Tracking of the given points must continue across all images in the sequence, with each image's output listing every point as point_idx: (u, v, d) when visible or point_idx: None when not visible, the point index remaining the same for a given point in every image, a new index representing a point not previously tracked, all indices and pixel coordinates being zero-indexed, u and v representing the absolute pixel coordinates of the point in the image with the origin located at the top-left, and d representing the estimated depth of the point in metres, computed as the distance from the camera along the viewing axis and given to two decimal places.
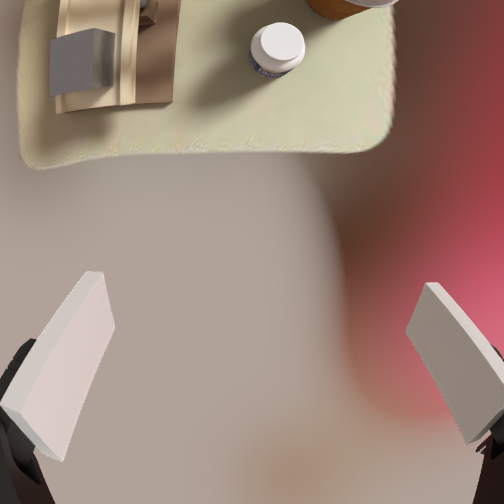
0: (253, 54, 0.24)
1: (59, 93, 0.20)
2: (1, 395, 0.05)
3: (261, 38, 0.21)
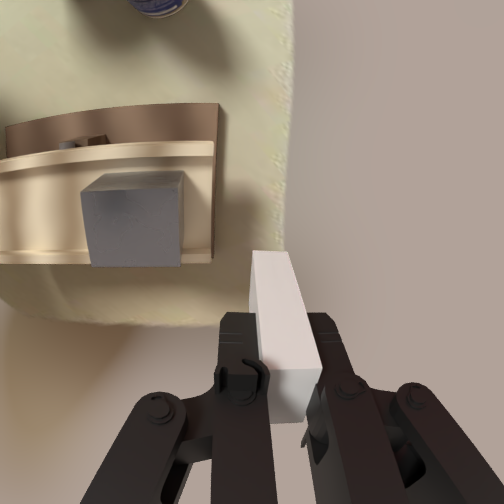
0: None
1: (177, 248, 0.18)
2: None
3: None
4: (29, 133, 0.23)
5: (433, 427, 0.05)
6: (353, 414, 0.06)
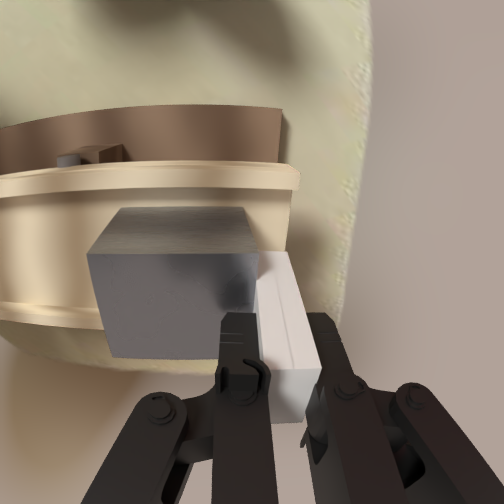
0: None
1: None
2: None
3: None
4: (19, 140, 0.17)
5: (432, 427, 0.05)
6: (352, 414, 0.06)
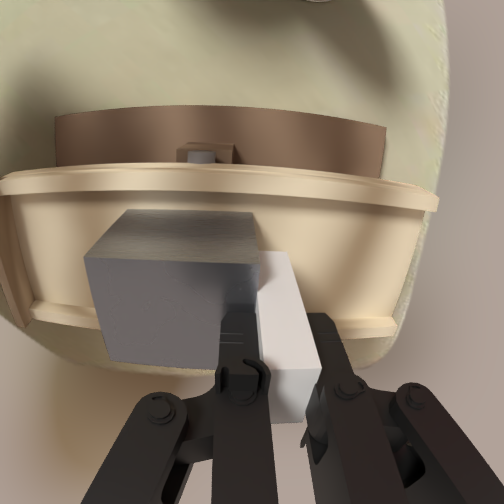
0: None
1: None
2: None
3: None
4: (98, 129, 0.18)
5: (432, 427, 0.05)
6: (352, 414, 0.06)
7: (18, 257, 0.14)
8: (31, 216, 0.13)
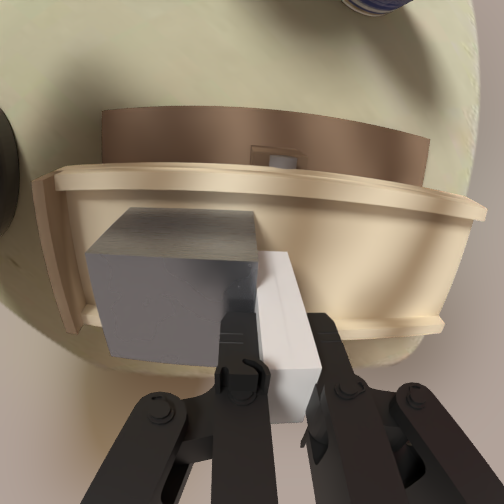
0: None
1: None
2: None
3: None
4: (153, 126, 0.18)
5: (433, 427, 0.05)
6: (353, 414, 0.06)
7: (72, 258, 0.14)
8: (92, 215, 0.14)
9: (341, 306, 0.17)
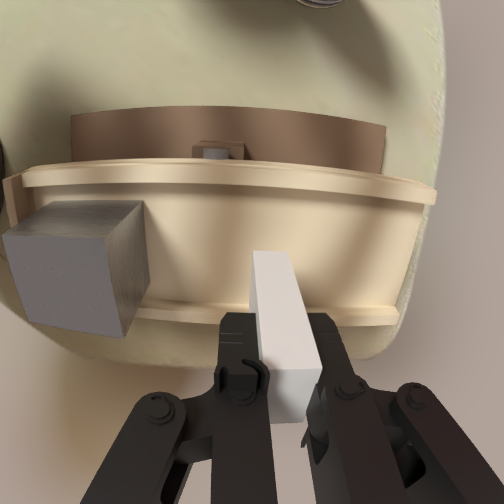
0: None
1: (116, 316, 0.12)
2: None
3: None
4: (113, 127, 0.19)
5: (433, 427, 0.05)
6: (353, 414, 0.06)
7: None
8: None
9: None
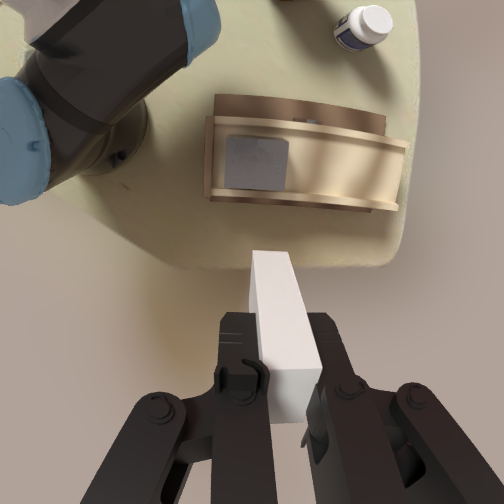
0: (377, 42, 0.27)
1: (284, 178, 0.29)
2: None
3: (378, 32, 0.24)
4: (244, 104, 0.36)
5: (433, 427, 0.05)
6: (353, 414, 0.06)
7: (213, 158, 0.32)
8: None
9: (341, 188, 0.35)
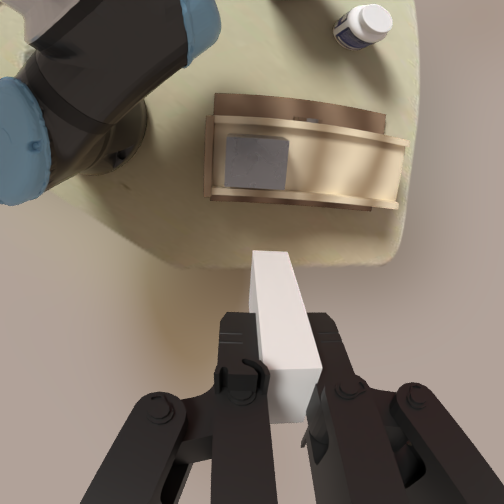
0: (376, 41, 0.27)
1: (284, 177, 0.29)
2: None
3: (377, 31, 0.24)
4: (244, 104, 0.36)
5: (433, 427, 0.05)
6: (353, 414, 0.06)
7: (213, 157, 0.32)
8: None
9: (341, 187, 0.35)
